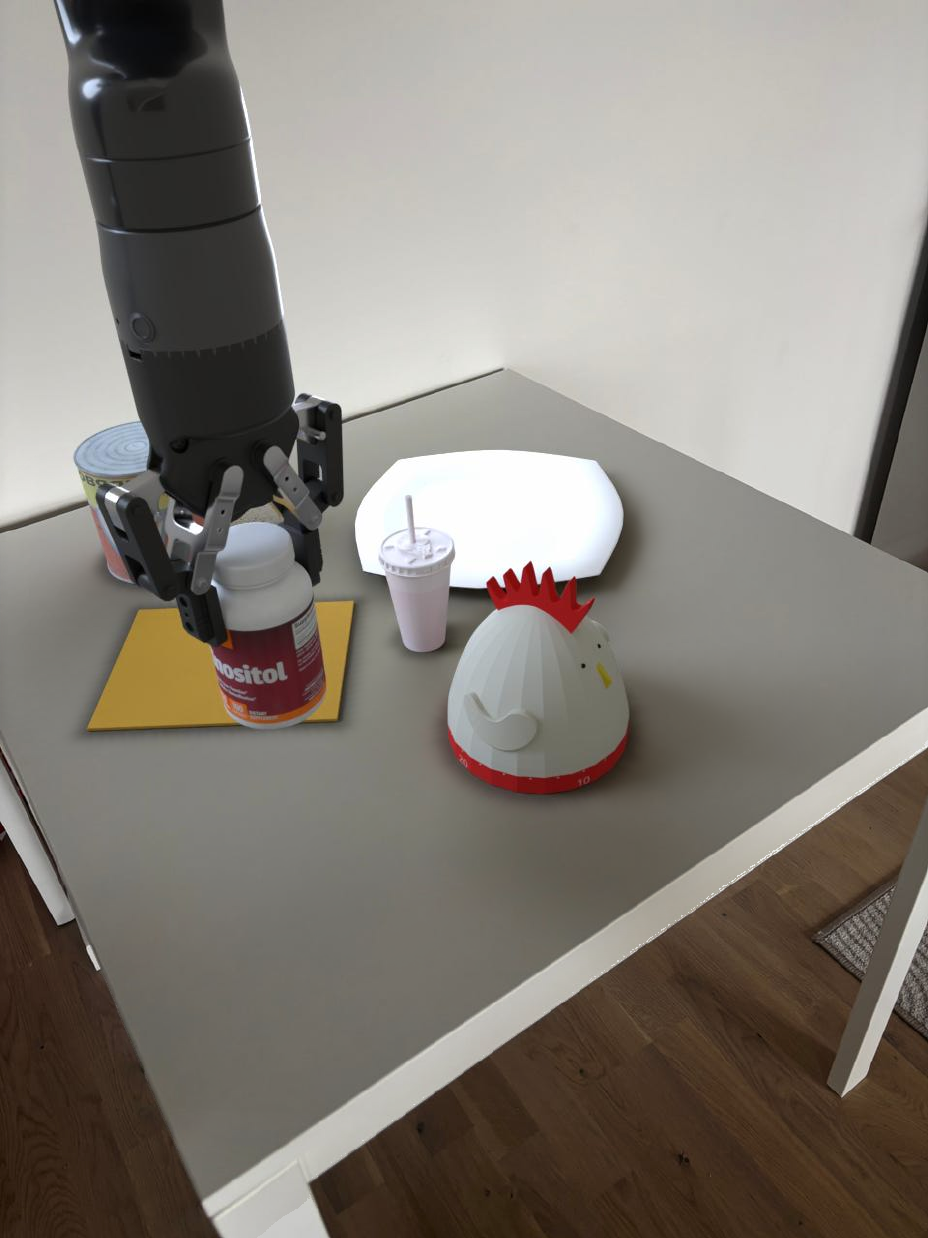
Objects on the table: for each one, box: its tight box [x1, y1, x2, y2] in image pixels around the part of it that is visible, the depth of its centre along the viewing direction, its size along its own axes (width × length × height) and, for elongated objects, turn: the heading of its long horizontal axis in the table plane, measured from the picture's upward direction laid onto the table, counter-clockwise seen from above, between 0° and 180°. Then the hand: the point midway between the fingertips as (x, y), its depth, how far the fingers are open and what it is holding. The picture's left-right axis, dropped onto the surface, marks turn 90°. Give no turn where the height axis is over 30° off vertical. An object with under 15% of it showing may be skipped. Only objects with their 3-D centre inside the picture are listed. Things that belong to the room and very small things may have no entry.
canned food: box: [72, 420, 205, 585], centre depth 95 cm, size 11×11×12 cm
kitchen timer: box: [447, 561, 630, 795], centre depth 71 cm, size 14×14×15 cm
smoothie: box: [378, 495, 456, 653], centre depth 81 cm, size 6×6×14 cm
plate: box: [354, 449, 625, 591], centre depth 99 cm, size 27×27×2 cm
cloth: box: [86, 600, 355, 732], centre depth 83 cm, size 20×16×1 cm
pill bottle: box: [210, 521, 326, 731], centre depth 55 cm, size 6×6×11 cm
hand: (258, 609), depth 54 cm, fingers closed on pill bottle, 6 cm apart
